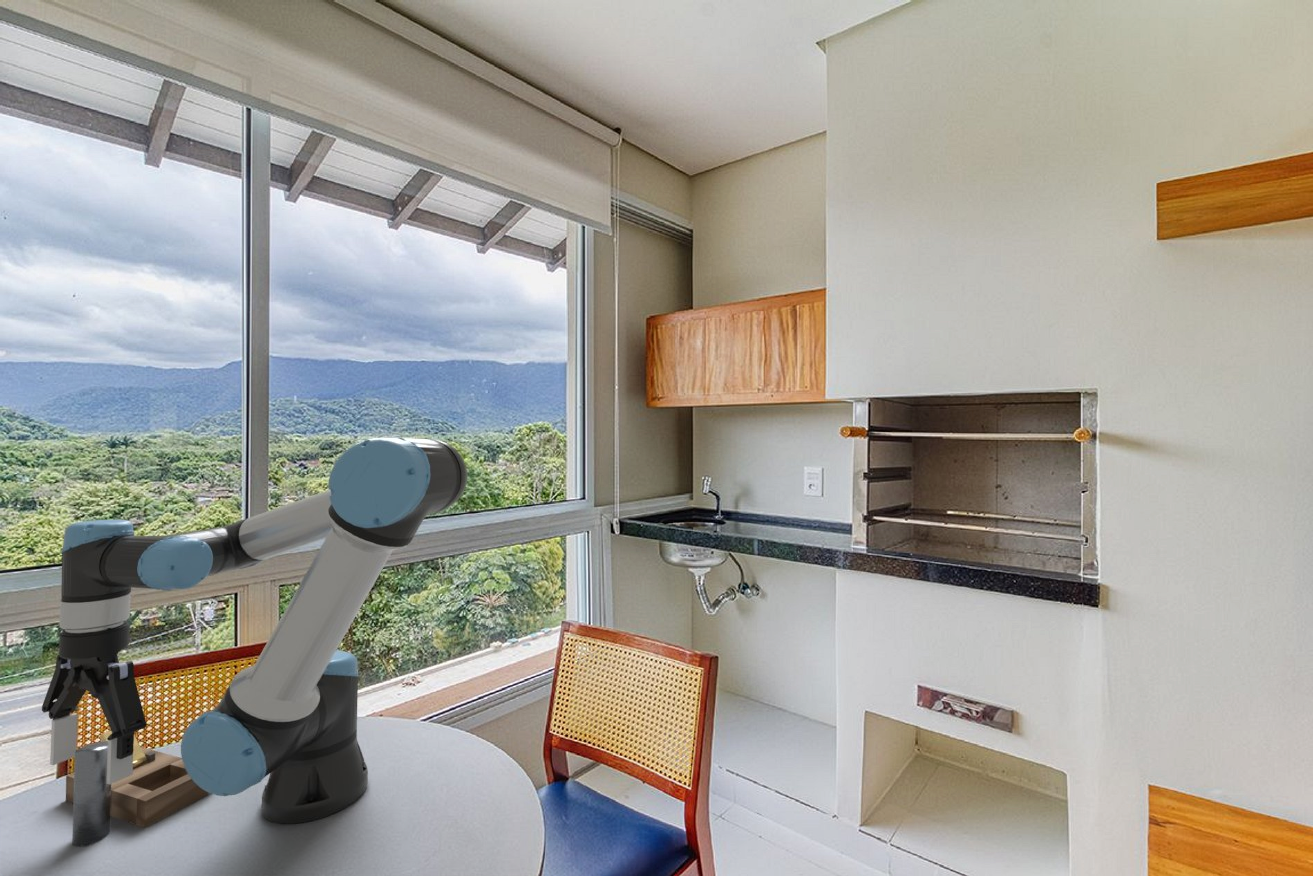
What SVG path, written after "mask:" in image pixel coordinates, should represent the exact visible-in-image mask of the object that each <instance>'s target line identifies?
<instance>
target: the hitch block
mask: <svg viewBox="0 0 1313 876" xmlns="http://www.w3.org/2000/svg"><path fill="white" fill-rule="evenodd" d="M140 747H141V749H142V751H143V753H144V755H145V757H146V759H147V761H146V762H145V763H143V764H141V765H138V766H136V767H134V768H133V775H131V776H128V777H126V778H124V779H121V780H119V781H117V782H115V783H112V784H111V815H110V817H111V818H115V819H118V820H120V821H123V822H126V823H129V824H132V825H134V826H138V827H141V828H148V827H149V826H152V825H153V824H156V823H157V822H159V821H161V820H163V819H165V818H167V817H169V816H170V815H172V814H174V813H176V812H178V811H180V810H182V809H183V808H185V807H188V806H190V805H192V804H194V803H195V802H197V801H199V800H201V799H203V798H205V797H206V796H209V795H211V793H208V792H207V791H205V790H203V789H202V788H200V787H199V786H198V785H197V784H196V783H195V782H194V781H193V780H192V779H191V777H190V776H189V775H188V773H187V771H186V769H185V764H184V762H183V761H182V757H179V756H176V755H173V754H172V755H171V754H168V753H165V752H161V751H157V750H155V749H154V750H153V749H151V748H146V747H143V746H140ZM65 776H66V778H65V802H69V803H72V804H73V800H74V772H72V773H70V774H67V775H65Z"/></svg>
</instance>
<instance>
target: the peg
mask: <svg viewBox="0 0 1313 876" xmlns="http://www.w3.org/2000/svg"><path fill="white" fill-rule="evenodd" d="M107 758H108V741H103V742H102V741H97V742H93V743H89V744H86V745H84V746H82V747H80V748H78V749H76V751H75V757H74V767H73V769H74V771H73V773H74V800H73V803H72V804H73V805H72V806H73V807H72V835H71V836H72V839H71V840H72V841H71V842H72V846H74V847H84V846H88V845H92V844H94V843H97V842H99V841H101V840H103V839H105V838H106V837H107V836H108V835H109V834H110V832H111V816H110V815H111V784H107Z"/></svg>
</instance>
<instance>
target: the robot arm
mask: <svg viewBox="0 0 1313 876" xmlns="http://www.w3.org/2000/svg"><path fill="white" fill-rule="evenodd" d="M467 482H468V470H467V465H466V462H465V460H464V458H463V457H462V455H461V454H460V453H459V451H457V449H456V448H455V447H453V446H452V445H450V444H449V443H446V442H444V441H443V440H439V439H434V438H405V437H400V436H392V435H391V436H390V435H389V436H380V437H375V438H369V439H366V440H362V441H360V442H357V443H355V444H354V445H352V446H351V447H349V448H348V449H346V450H345V451H344V452H343V453H342V454H341V455H340V456H339V457H338V459H337V460H336V462H335V463H334V465H333V466H332V469H331V471H330V474H329V478H328V486H327V490H325V491H322V492H319V493H316V494H313V495H310V496H307V497H305V498H302V499H299V500H296V501H293V502H291V503H287V504H285V505H281V506H278V507H275V508H273V509H270V510H267V511H264V512H262V513H259V514H256V515H254V516H253V515H252V516H249V517H248V518H244V519H242V520H240V521H236V522H233V523H230V524H227V525H223V526H218V527H213V528H212V527H211V528H208V529H199V530H194V531H193V530H192V531H188V532H179V533H174V534H166V535H136V534H135V531H134V524H133V522H132V521H130V520H127V519H98V520H97V519H95V520H86V521H85V520H83V521H79V522H73V523H71V524H69V525H68V526H67V527H66V528H65V530H64V535H63V542H62V543H63V545H62V549H61V551H60V553H61V585H60V586H61V589H60V590H61V594H60V595H61V596H60V597H61V600H60V602H59V603H60V605H59V606H60V607H59V628H60V629H63V630H62V631H61V632H60V633H59V639H58V641H59V642H58V643H59V644H58V654H57V655H56V659H55V660H56V661H55V669H54V672H53V675H52V677H51V681H50V682H49V686H48V688H47V691H46V694H45V697H44V699H43V700H44V701H43V703H42V706H41V711H42V712H43V713H44V714H45V713H48V717H49V719H50V720H51V731H50V732H51V733H50V759H49V760H50V761H49V764H50V765H51V766H55V765H57V764H61V763H63V762H66V761H68V760H70V759H73V758H75V751H76V750H78V749H77V746H78V744H77V743H78V718H79V717H78V713H76V712H77V711H80V708H79V706H78V705H79V703H80V702H81V700H82V698H83V697H84V695H85V693H86V692H89V694H90V696H91V697H92V698H95V699H97V701H98V704H99V706H100V708H101V711H102V713H103V714H104V717H105V720H106V722H107V724H108V726H109V727H108V728H109V729H110V731H112V734H111V735H110V736H109V737H108V738H107V739H108V758H107V784H112V783H115V782H117V781H119V780H121V779H124V778H126V777H128V776H131V775H133V747H134V736H135V733H136V732H138V731H141V730H143V729H145V728H146V727H147V720H146V717H145V713H144V709H143V705H142V702H141V697H140V695H139V690H138V687H137V683H136V679H135V667H134V662H133V661H132V660H129V661H126V662H121V663H120V661H119V657H118V655H119V653H120V652H121V651H122V650H125V648H127V647H128V646H129V645H130V635H131V634H130V633H131V632H130V628H131V624H130V622H128V621H127V620H129V618H130V617H131V616H130V615H131V602H132V601H133V597H132V596H131V593H132V589H133V588H136V589H147V590H149V589H150V590H157V591H158V590H161V591H173V590H186V589H187V590H188V589H190V588H191V589H192V588H194V587H196V586H197V585H199V583H200V582H201V581H203V580H204V579H206V578H208V577H211V576H212V577H213V576H214V575H218V574H223V573H227V572H231V571H234V570H235V571H237V570H243V569H246V568H249V567H253V566H256V565H258V564H260V563H263V562H264V561H266V560H268V559H271V558H273V557H276V556H279V555H282V554H286V553H288V552H291V551H293V550H296V549H300V548H302V547H305V546H309V545H311V544H315V543H318V542H321V541H323V542H322V545H321V546H320V548H319V550H318V551H317V554H316V555H315V557H314V558H313V560H312V562H311V564H310V566H309V568H308V570H307V571H306V572H305V574H304V576H303V578H302V580H301V582H300V583H299V585H298V587H297V589H296V590H295V592H294V594H293V596H292V598H291V599H290V601H289V603H288V604H287V607H286V609H285V610H284V612H283V614H282V615H281V618H280V619H279V621H278V622H277V624H276V626H275V628H274V630H273V632H272V633H271V635H270V636H269V638H268V640H267V642H266V644H265V646H264V647H263V649H262V651H261V653H260V654H259V656H258V658H257V660H256V661H255V663H254V664H253V665H251V666H247V667H246V668H243V669H242V670H241V671H239V672H238V673H237V674H236V675H235V676H234V677H233V678H232V680H231V682H230V684H229V685H228V687H227V689H226V690H225V693H223V696H222V698H221V699H220V701H219V703H218V704H217V706H215V707H214V708H213V709H212V710H209V711H207V712H206V711H205V712H203V713H201V714H200V716H198V717H197V718H196V719H195V720H192V721H191V722H190V724H189V725H188V726H187V727H186V729H185V731H184V733H183V735H182V738H181V744H180V756H181V758H182V761H183V762H184V764H185V769H186V771H187V773H188V775H189V776H190V777H191V779H192V780H193V781H194V782H195V783H196V784H197V785H198V786H199V787H200V788H202V789H203V790H205V791H207V792H208V793H210V795H214V796H220V797H227V796H228V797H229V796H235V795H239V794H241V793H243V792H245V791H247V789H249V788H251V787H253V786H255V785H257V784H259V783H261V782H262V781H264V778H266V777H267V776H268V775H269V777H268V780H267V783H266V785H265V787H264V789H263V792H262V795H261V813H262V816H263V817H264V818H266V820H268V821H271V822H273V823H279V824H297V823H299V824H300V823H307V822H311V821H315V820H318V819H321V818H324V817H329V816H330V815H333V814H335V813H337V812H339V811H341V810H344V809H345V808H347V807H348V806H350V805H351V804H353V803H354V802H356V801H357V800H358V799H359V798H361V796H362V795H363V794H364V792H365V791H366V789H367V788H368V783H369V779H368V778H369V773H368V772H369V771H368V766H367V764H366V761H365V758H364V755H363V752H362V749H361V747H360V744H359V741H358V733H357V732H358V697H359V696H358V692H359V691H358V689H359V687H358V686H359V677H360V674H359V673H358V672H359V669H358V658H357V657H356V656H355V655H354V654H353V653H351V652H348V651H344V650H338V648H339V646H340V645H341V643H342V641H343V639H344V638H345V636H346V634H347V632H348V630H349V629H350V627H351V625H352V624H353V621H354V620H355V617H357V615H358V613H359V611H360V609H361V607H362V605H363V604H364V602H365V601H366V599H367V597H368V596H369V594H370V591H371V590H372V588H373V586H374V585H375V583H376V581H377V580H378V578H379V576H380V574H381V573H382V571H383V569H384V567H385V565H386V564H387V562H388V561H389V558H390V556H391V555H392V553H393V552H394V551H397V550H401V549H405V548H407V547H408V546H410V543H412V540H413V538H414V537H415V536H416V533H418V530H419V528H420V526H421V524H422V523H423V521H424V520H425V518H426V516H429V515H433V514H436V513H440V512H443V511H445V510H447V509H448V508H450V507H451V506H453V505H454V504H456V502H457V501H458V500H460V498H461V497H462V495H463V493H464V491H465V488H466V486H467ZM70 713H71V714H70Z"/></svg>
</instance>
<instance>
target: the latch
mask: <svg viewBox="0 0 1313 876" xmlns="http://www.w3.org/2000/svg"><path fill="white" fill-rule="evenodd" d="M111 734H112V731H111V730H109V731H106V732H104V733H102V734H101V735H100V736H99V738H100V740H101V742H103V741H108V739H107V738H108V737H109V736H110V735H111ZM141 747H142V746H140V744H139V741H138V739H137V738H136V735H134V747H133V768H134V767H136V766H138V765H141V764H143V763H145V762H146V761H147V759H146V757H145V755H144V753H143V751H142V749H141Z"/></svg>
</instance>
